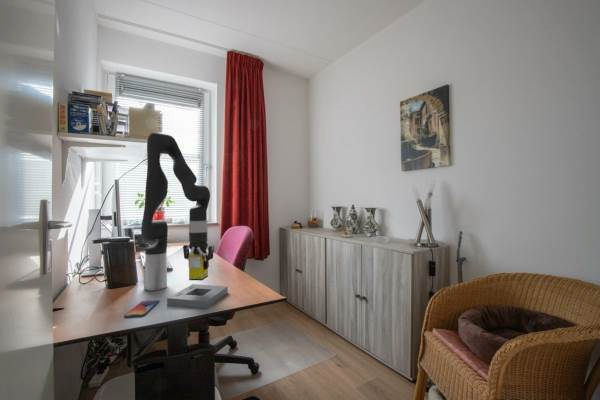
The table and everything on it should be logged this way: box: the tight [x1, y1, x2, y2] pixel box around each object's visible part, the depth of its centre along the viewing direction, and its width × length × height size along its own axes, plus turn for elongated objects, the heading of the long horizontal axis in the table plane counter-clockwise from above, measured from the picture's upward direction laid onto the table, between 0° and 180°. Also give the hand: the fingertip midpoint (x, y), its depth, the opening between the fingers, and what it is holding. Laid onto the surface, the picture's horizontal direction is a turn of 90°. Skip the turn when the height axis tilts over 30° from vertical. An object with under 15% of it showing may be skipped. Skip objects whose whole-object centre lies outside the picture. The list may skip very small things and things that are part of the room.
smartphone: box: [123, 299, 160, 319], centre depth 107 cm, size 7×15×1 cm, turn 7°
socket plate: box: [166, 283, 229, 310], centre depth 117 cm, size 18×18×3 cm
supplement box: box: [188, 253, 209, 282], centre depth 117 cm, size 6×6×11 cm
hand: (198, 268), depth 117 cm, fingers closed on supplement box, 6 cm apart
